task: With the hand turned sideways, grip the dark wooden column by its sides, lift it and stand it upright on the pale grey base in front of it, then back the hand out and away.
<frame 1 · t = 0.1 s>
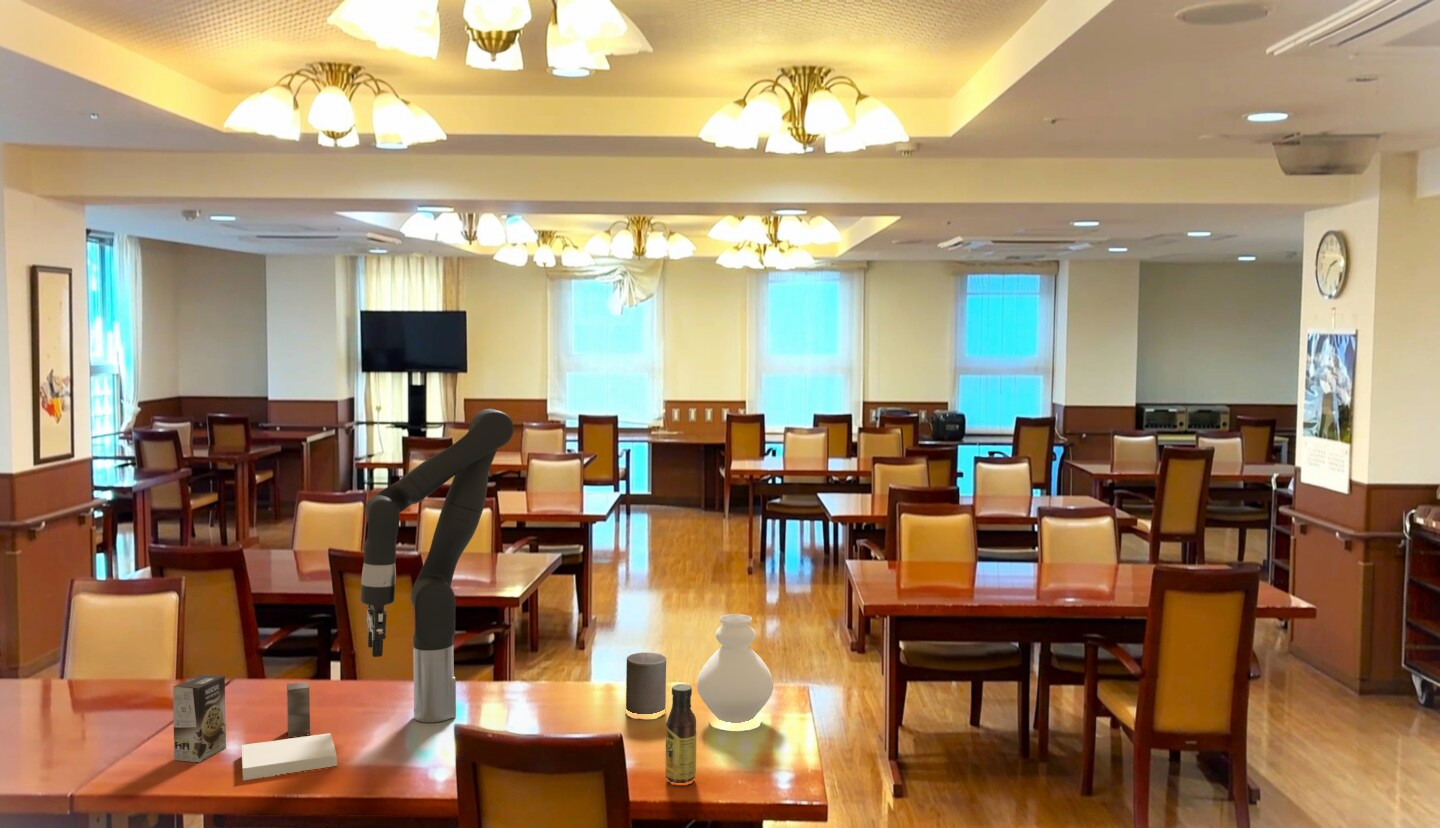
hand: (374, 651, 251), 17 cm above the table, tool pointing down, fingers open, 8 cm apart
sauce bottle: (680, 782, 221), on the table
pillar candle: (646, 714, 261), on the table
column: (298, 733, 246), on the table
coffee box: (200, 755, 233), on the table
decorative vase: (734, 723, 255), on the table
base: (288, 761, 230), on the table
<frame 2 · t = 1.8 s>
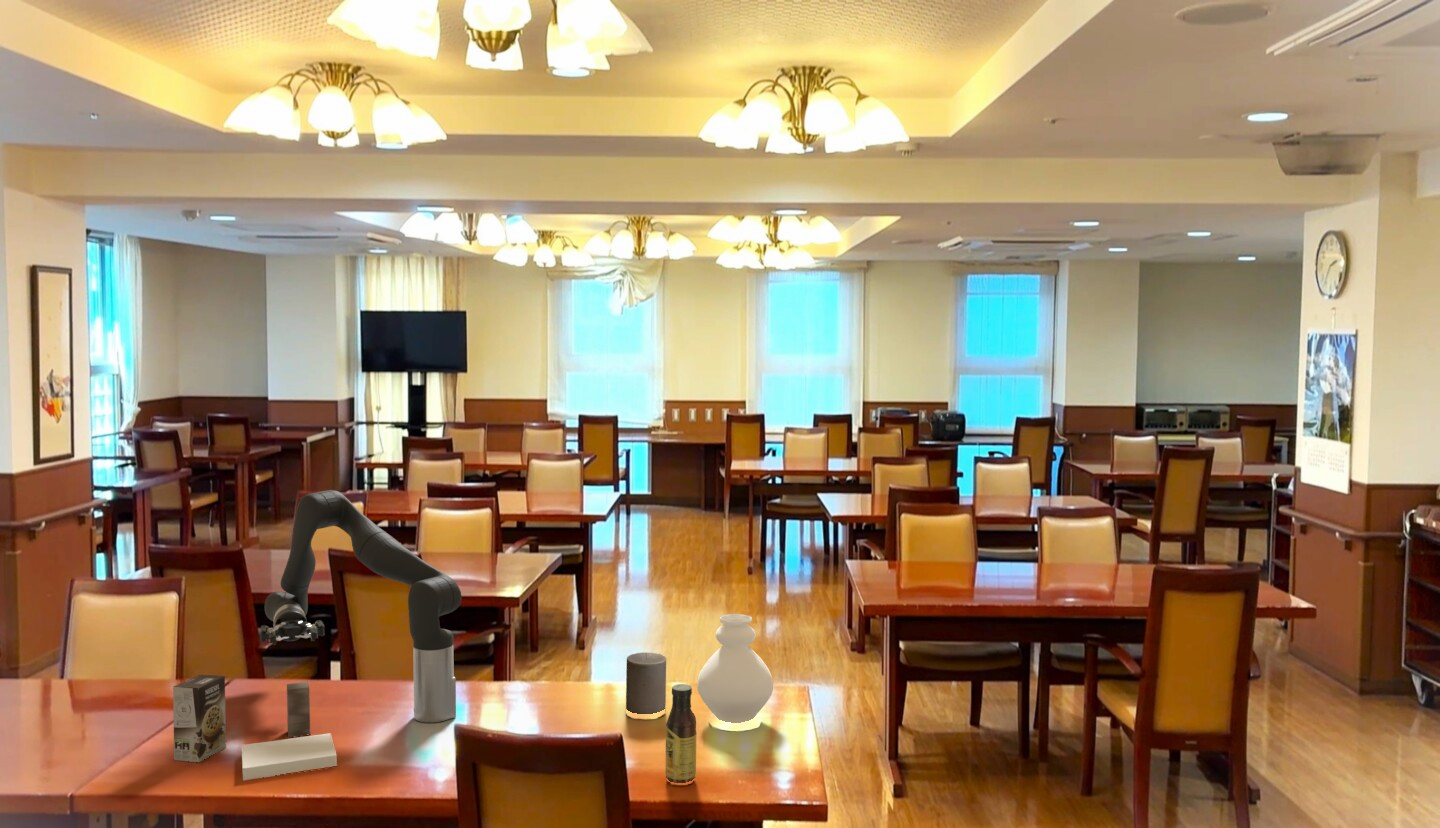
hand: (294, 638, 255), 19 cm above the table, tool horizontal, fingers open, 8 cm apart
nothing on the table moved.
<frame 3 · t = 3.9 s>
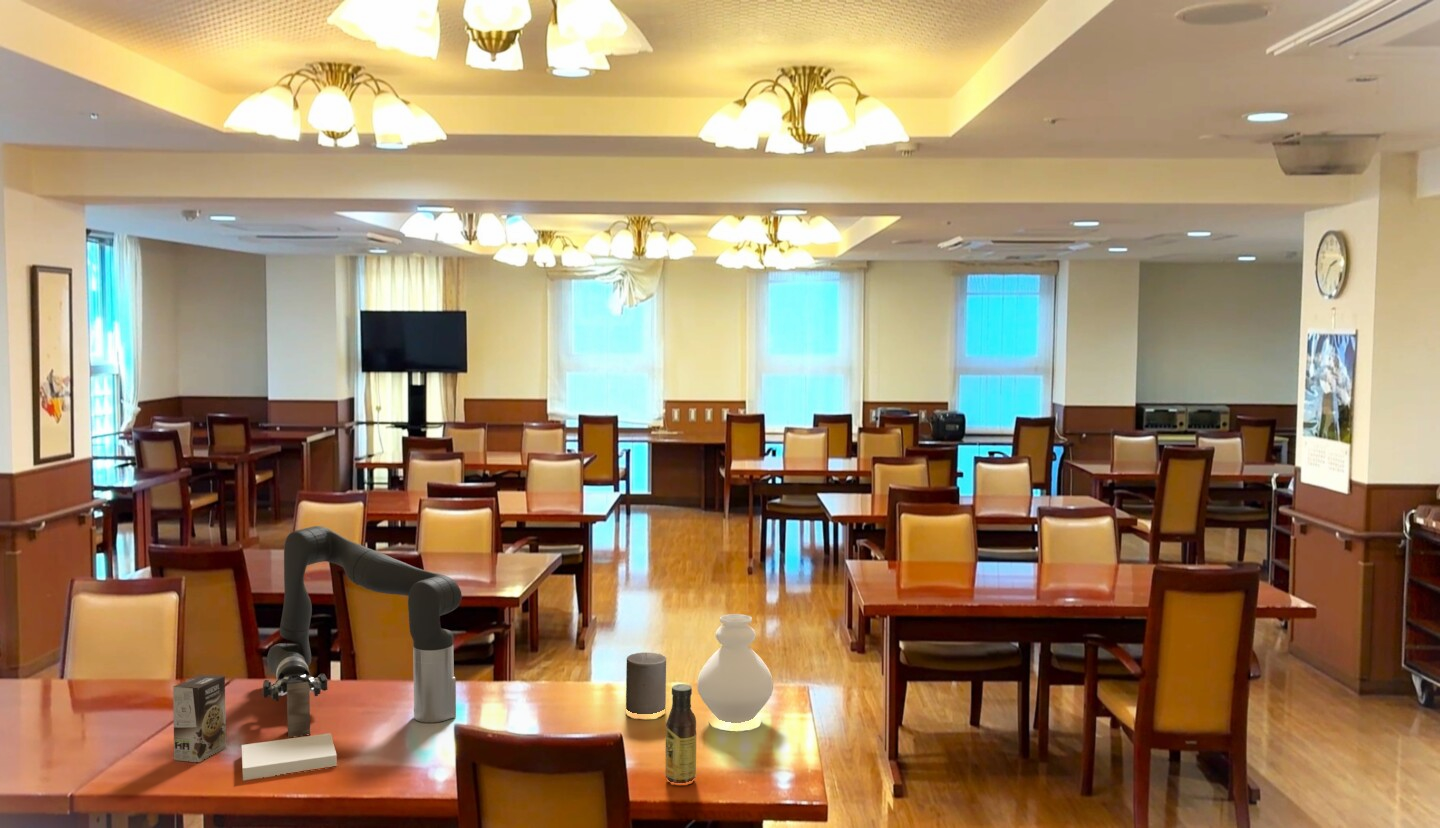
hand: (296, 694, 252), 7 cm above the table, tool horizontal, fingers open, 8 cm apart
nothing on the table moved.
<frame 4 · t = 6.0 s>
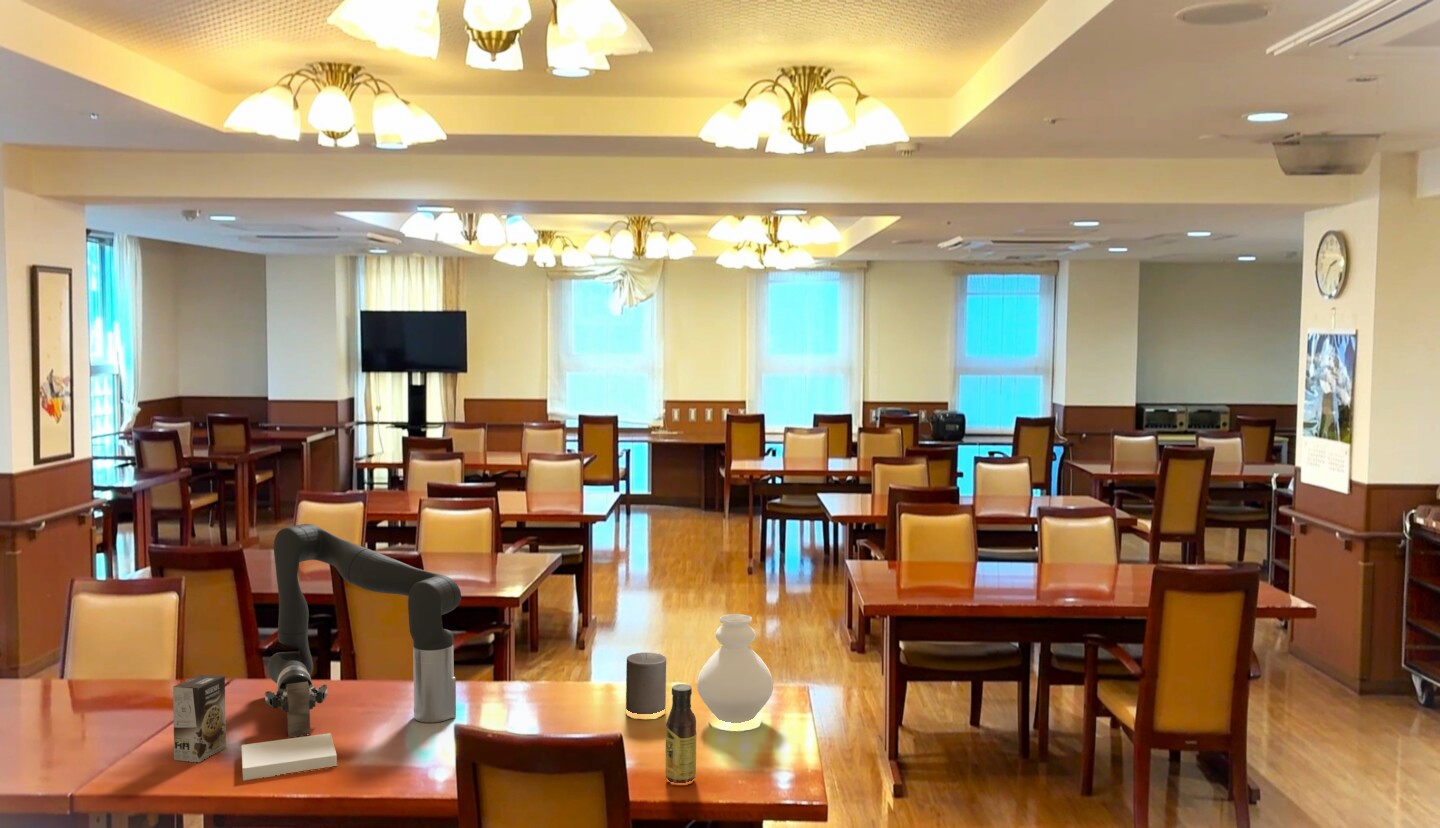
hand: (299, 706, 243), 7 cm above the table, tool horizontal, fingers closed on column, 4 cm apart
column: (298, 733, 246), on the table, touching gripper
everything else where it was.
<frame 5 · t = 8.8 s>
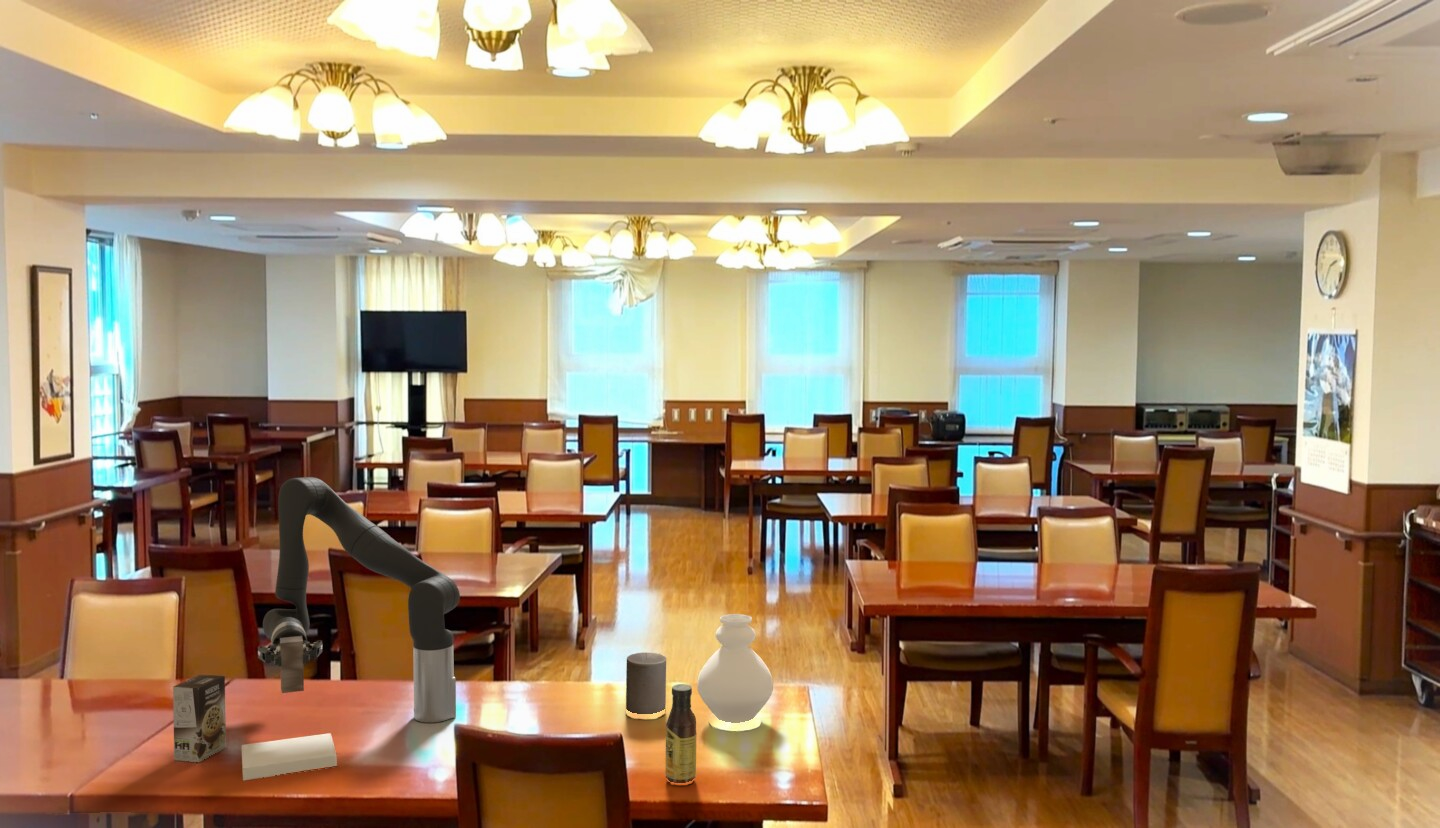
hand: (292, 660, 234), 20 cm above the table, tool horizontal, fingers closed on column, 4 cm apart
column: (292, 688, 237), point 13 cm above the table, touching gripper
everything else where it was.
when the fingers open (10 cm above the table, at t = 11.7 s): column stays where it is, resting on base.
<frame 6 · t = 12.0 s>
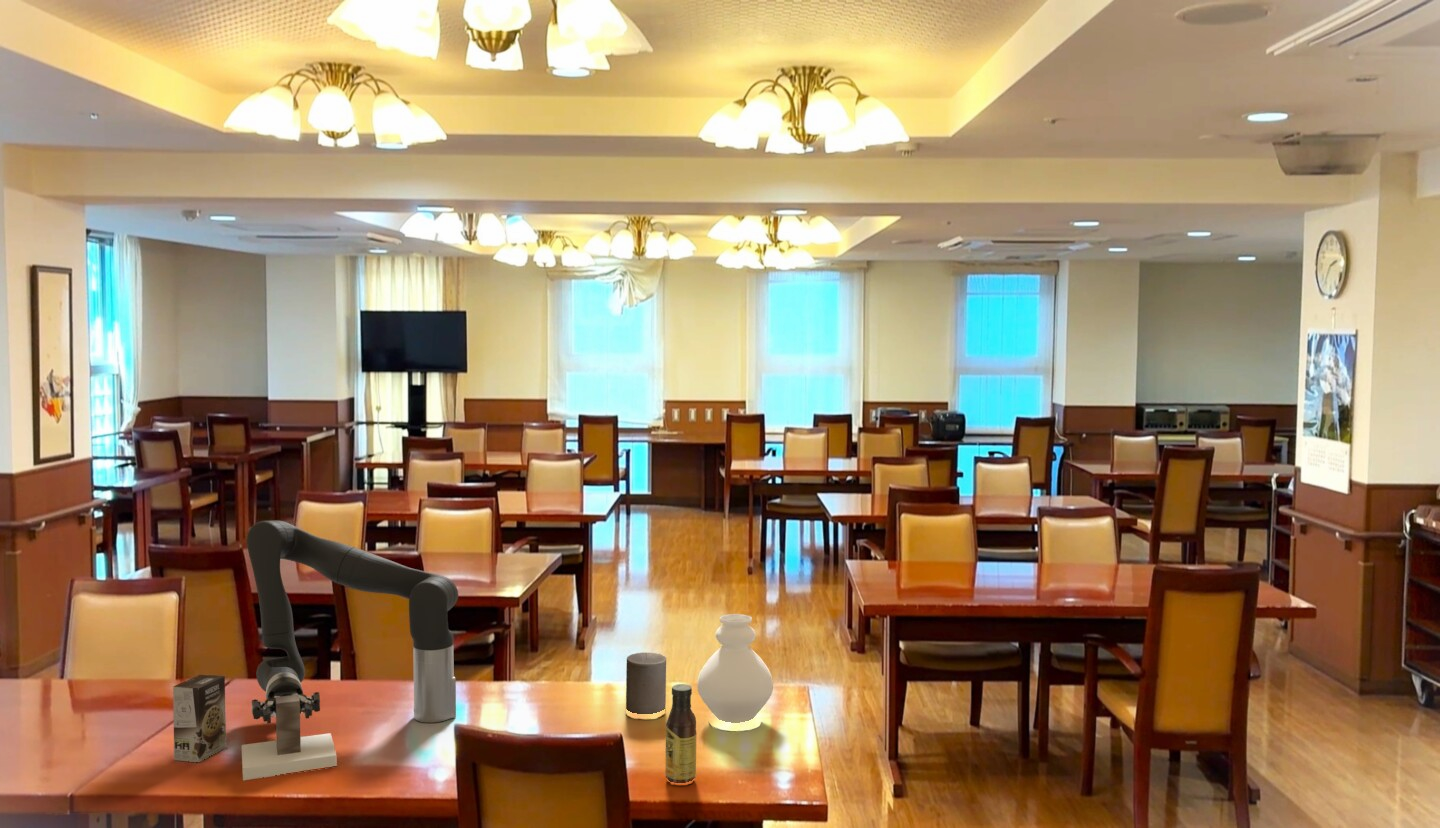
hand: (288, 716, 227), 10 cm above the table, tool horizontal, fingers open, 7 cm apart
column: (288, 749, 230), point 2 cm above the table, touching base
everything else where it was.
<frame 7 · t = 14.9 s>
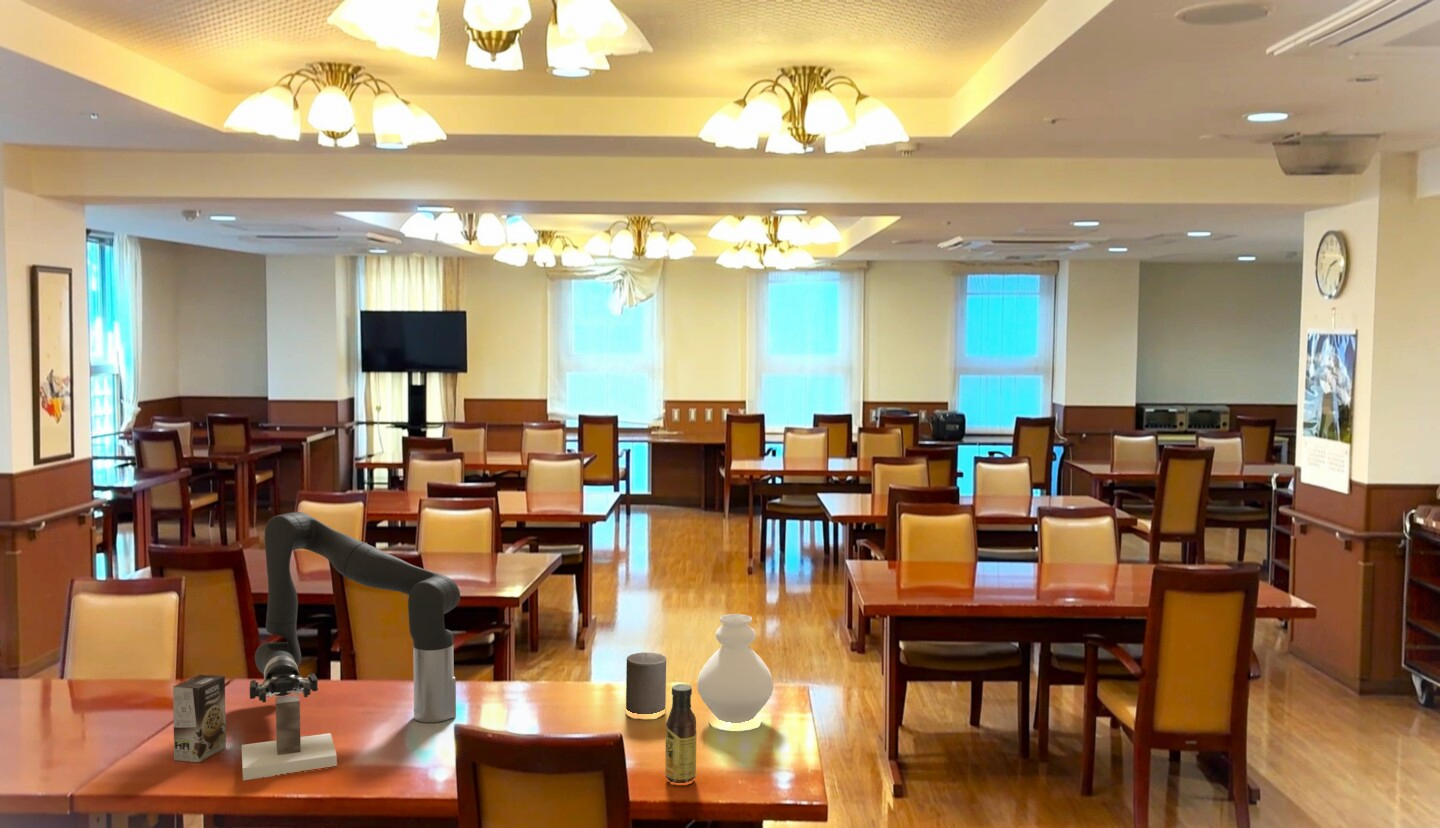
hand: (285, 695, 239), 11 cm above the table, tool horizontal, fingers open, 8 cm apart
nothing on the table moved.
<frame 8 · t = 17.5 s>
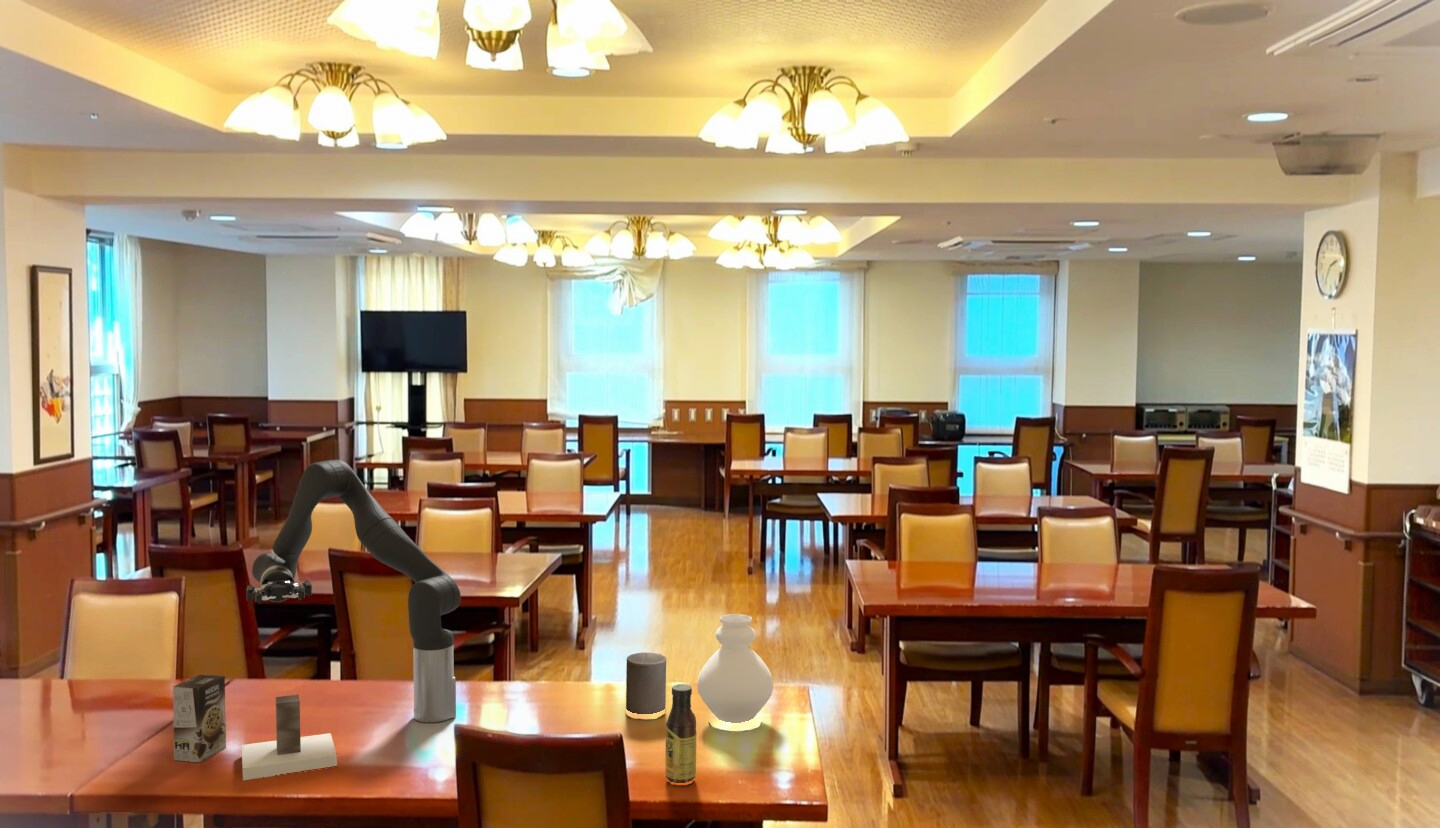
hand: (280, 597, 250), 30 cm above the table, tool horizontal, fingers open, 8 cm apart
nothing on the table moved.
at the end: column inside the target area on the base (0.0 cm from its centre), point 2.5 cm above the base's base; column tilted 0°; the gripper is holding nothing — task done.
